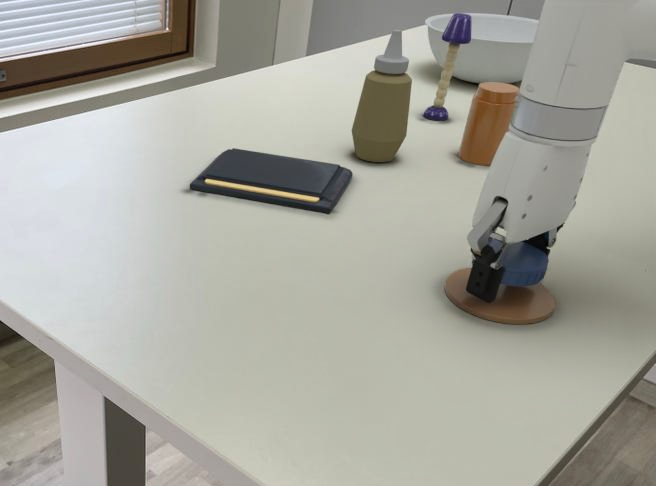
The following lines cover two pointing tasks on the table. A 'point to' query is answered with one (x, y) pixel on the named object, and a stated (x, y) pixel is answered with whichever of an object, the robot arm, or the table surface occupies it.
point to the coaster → (502, 301)
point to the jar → (487, 121)
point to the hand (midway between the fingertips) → (502, 285)
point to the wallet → (275, 179)
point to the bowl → (487, 47)
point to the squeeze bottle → (383, 105)
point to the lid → (522, 264)
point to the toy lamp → (450, 61)
